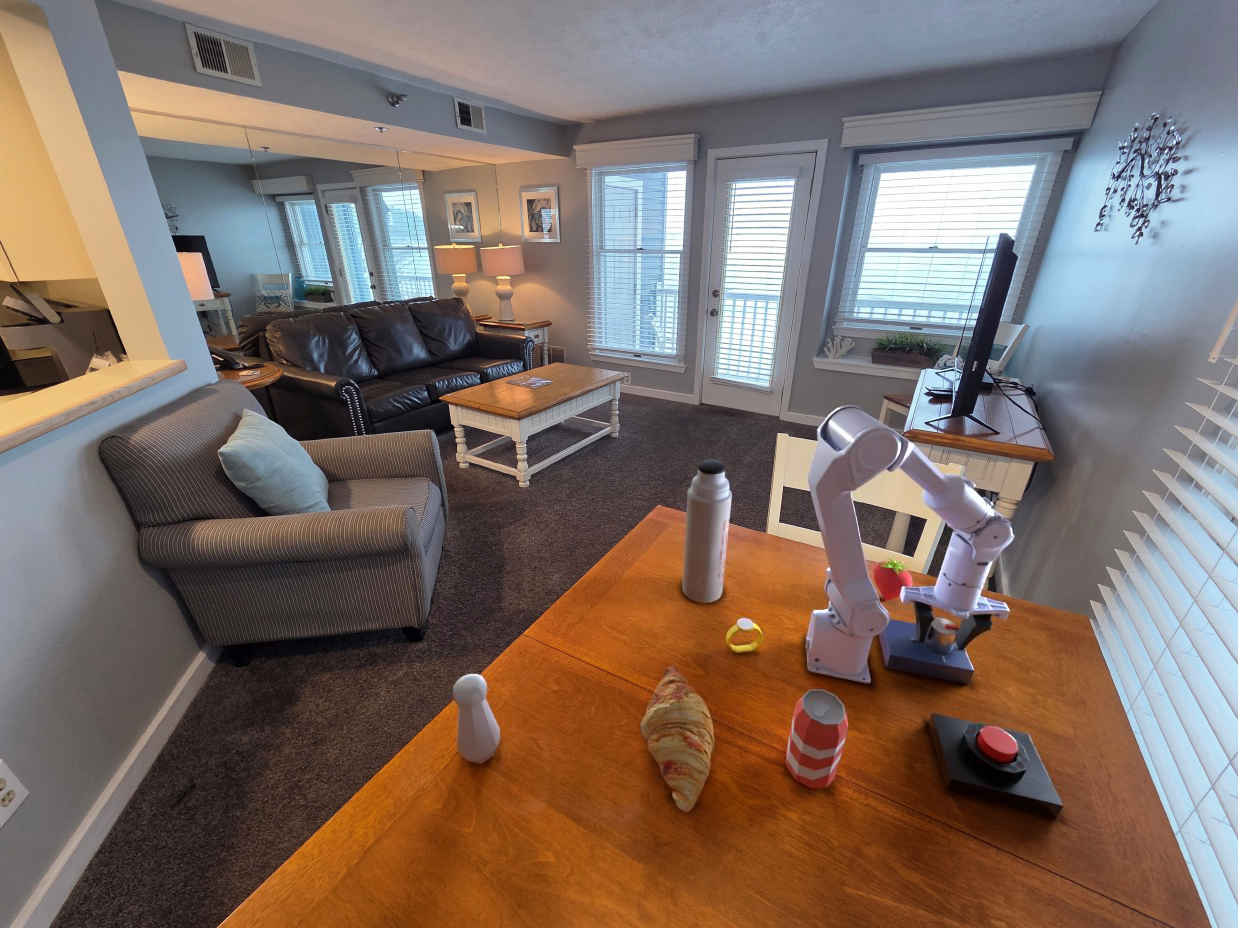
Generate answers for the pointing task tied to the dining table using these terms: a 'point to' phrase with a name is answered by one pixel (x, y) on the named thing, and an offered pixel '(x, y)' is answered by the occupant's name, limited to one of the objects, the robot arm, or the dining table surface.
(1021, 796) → the button box
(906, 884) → the dining table surface
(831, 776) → the beverage can
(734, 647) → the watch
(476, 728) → the salt shaker
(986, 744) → the button
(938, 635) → the dial knob
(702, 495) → the thermos bottle
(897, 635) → the dial panel
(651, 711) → the croissant
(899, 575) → the strawberry
